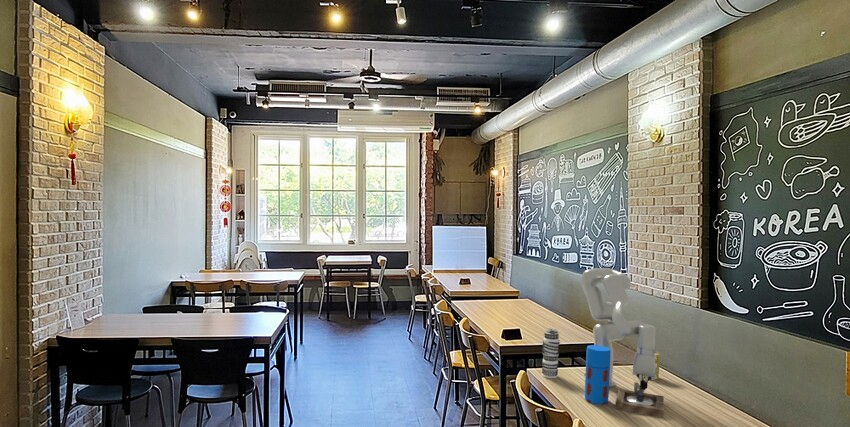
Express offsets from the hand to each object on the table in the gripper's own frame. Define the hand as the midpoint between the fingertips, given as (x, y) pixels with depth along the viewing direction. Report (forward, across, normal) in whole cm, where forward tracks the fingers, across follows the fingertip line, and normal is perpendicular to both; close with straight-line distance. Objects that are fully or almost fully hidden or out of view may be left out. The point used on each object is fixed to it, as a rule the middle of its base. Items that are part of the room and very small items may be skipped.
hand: (643, 389), depth 257 cm
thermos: (+6, +18, +14) cm, 23 cm away
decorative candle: (+7, +50, -7) cm, 50 cm away
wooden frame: (+6, 0, +7) cm, 9 cm away
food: (+7, +7, -41) cm, 42 cm away
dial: (+4, 0, +5) cm, 7 cm away
